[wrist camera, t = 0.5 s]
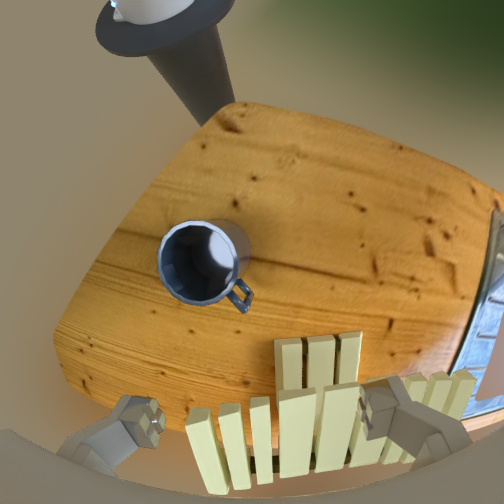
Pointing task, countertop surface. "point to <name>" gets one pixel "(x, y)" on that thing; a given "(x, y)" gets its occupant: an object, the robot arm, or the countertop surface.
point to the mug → (205, 262)
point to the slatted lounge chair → (311, 417)
